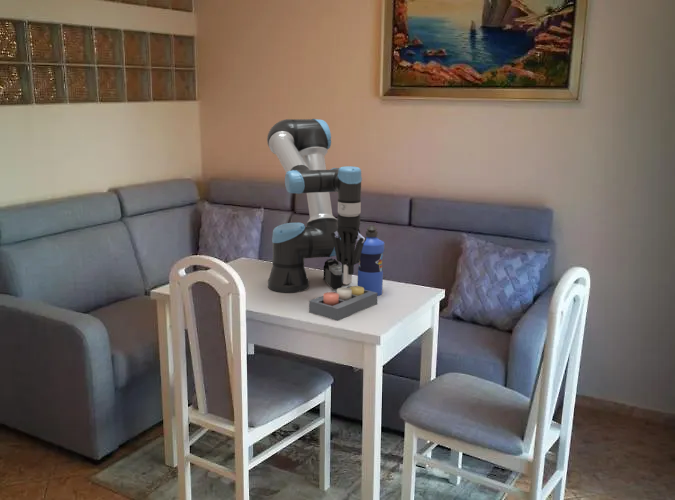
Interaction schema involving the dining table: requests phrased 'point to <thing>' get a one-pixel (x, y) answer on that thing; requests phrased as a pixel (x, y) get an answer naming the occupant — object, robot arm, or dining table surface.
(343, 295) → the ivory button
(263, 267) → the dining table surface
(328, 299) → the coral button
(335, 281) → the camera
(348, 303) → the console
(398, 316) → the dining table surface
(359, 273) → the water bottle
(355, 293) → the ochre button
